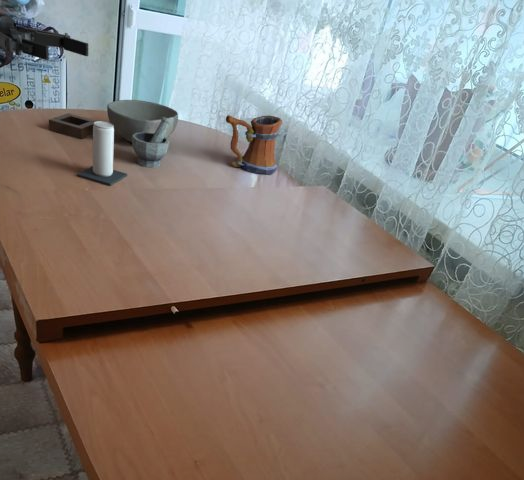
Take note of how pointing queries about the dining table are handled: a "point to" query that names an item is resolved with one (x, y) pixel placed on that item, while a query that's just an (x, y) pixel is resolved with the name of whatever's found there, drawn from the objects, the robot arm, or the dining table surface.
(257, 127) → the mug
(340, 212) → the dining table surface
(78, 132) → the frame
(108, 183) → the mat
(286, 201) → the dining table surface
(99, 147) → the beverage can
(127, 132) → the bowl
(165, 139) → the mortar and pestle
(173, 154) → the dining table surface
